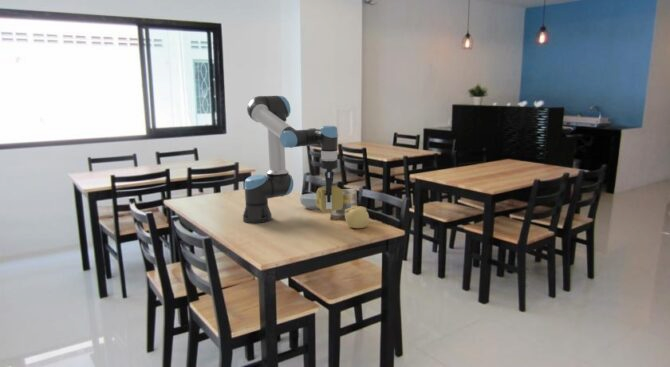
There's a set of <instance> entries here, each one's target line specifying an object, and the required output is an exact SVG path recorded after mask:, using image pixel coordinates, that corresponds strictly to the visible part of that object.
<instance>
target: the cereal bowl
mask: <svg viewBox="0 0 670 367" xmlns="http://www.w3.org/2000/svg"><path fill="white" fill-rule="evenodd" d="M316 199H317V196H316V192H315V193H305V194H301V195H300V196H299V202H300V204H301V205H302V206H303V207H306V208H308V209H310V210H320V209H319V208H318V207H317V206H316Z"/></svg>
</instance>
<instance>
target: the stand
mask: <svg viewBox="0 0 670 367" xmlns="http://www.w3.org/2000/svg"><path fill="white" fill-rule="evenodd" d="M341 189H342V188H341ZM357 191H358V189H356V188H355V189H353V188H351V189H350V188H348V189H347V188H346V189H345V188H344V189H342V192H343V207H342V210H331V211H330V215H329V216H330V221H338V220H339V221H346V219H345V210H346V209H348V208H351V207H353V206H358V205H357V204H358V199H357V198H358V196H357V193H358V192H357Z"/></svg>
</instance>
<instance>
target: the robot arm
mask: <svg viewBox="0 0 670 367" xmlns="http://www.w3.org/2000/svg"><path fill="white" fill-rule="evenodd" d="M246 110H247V111H246V112H247V115H248V116H249V118H250V119H251V120H253V121H254V122H255V123H260V124H261V125H263V127H265V128H266V129H267V140H268V158H269V159H268V160H269V162H268V164H269V170H268V171H267V172H266V174H254V175H251V176H248V177H247V178H246V179H245V180H244V185H243V186H244V195H245V196H244V199H245V208H244V211H243V214H242V221H243V223H248V224H260V223H267V222H270V221H271V220H272V217H273V216H272V211H271V210H270V207H269V202H268V201H269V199H274V198H279V197H280V198H281V197H285V196H289V194H291V193H292V191H293V190H294V179H293V176H292V175H291V174H290V173H289V171H288V169H287V167H286V151H285V150H286V148H298V147H307V146H320V159H321V163H320V164H321V165H320V167H321V169H324V170H326V171H325V172H324V176H325V186H326V193H324V195H326V209H332V185H334V175H335V172H334V171H333V170H335V169H338V160H337V159H338V155H339V154H340V153H339V152H338V144H339V143H338V141H339V140H338V137H339V134H338V126H335V125H323V126H321V127H320V128H307V129H295V128H293V126H291V125H290V124H288V123H287V118H288V117H289V116H290V114H291V105H290V102H289V100H288V99H287V98H286V97H285V96H283V95H258V96H255V97H253V98H251V99H250V100H249V102H248V104H247V108H246Z"/></svg>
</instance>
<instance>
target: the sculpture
mask: <svg viewBox="0 0 670 367" xmlns="http://www.w3.org/2000/svg"><path fill="white" fill-rule="evenodd" d="M345 219H346V220H345V222H346V224H347V226H348V227H349V228H354V229H364V228H366V227H367V226H368V225H369V222H370V215H369V212H368V211H367V207H365V206H361V205H360V206H359V205H357V206H353V207H351V208H348V209H346V210H345Z"/></svg>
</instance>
